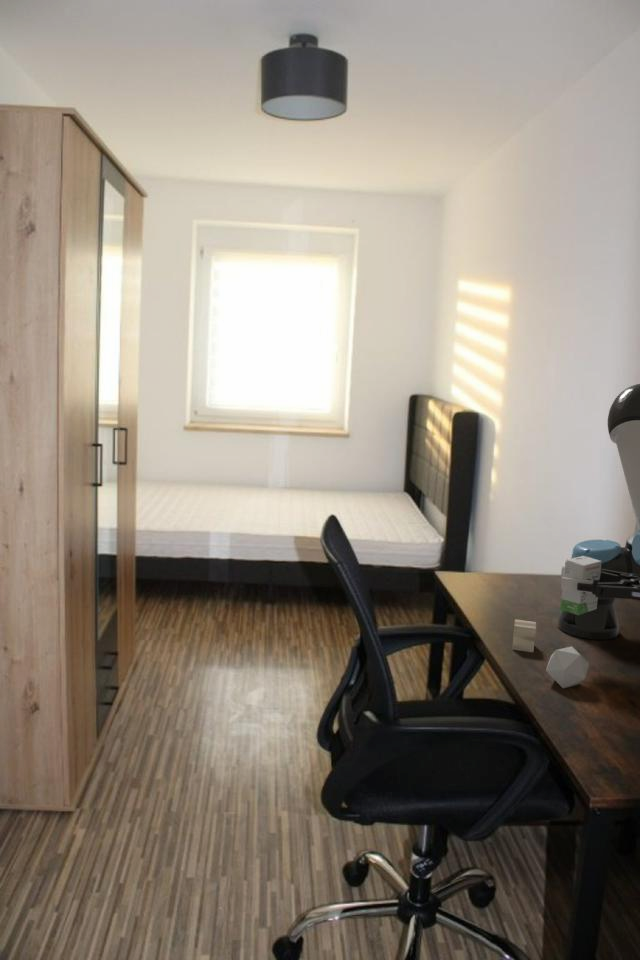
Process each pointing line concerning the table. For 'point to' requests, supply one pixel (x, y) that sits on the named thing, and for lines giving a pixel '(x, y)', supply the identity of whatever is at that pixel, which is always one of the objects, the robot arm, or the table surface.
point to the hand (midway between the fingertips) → (561, 577)
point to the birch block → (524, 635)
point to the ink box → (585, 571)
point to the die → (567, 667)
